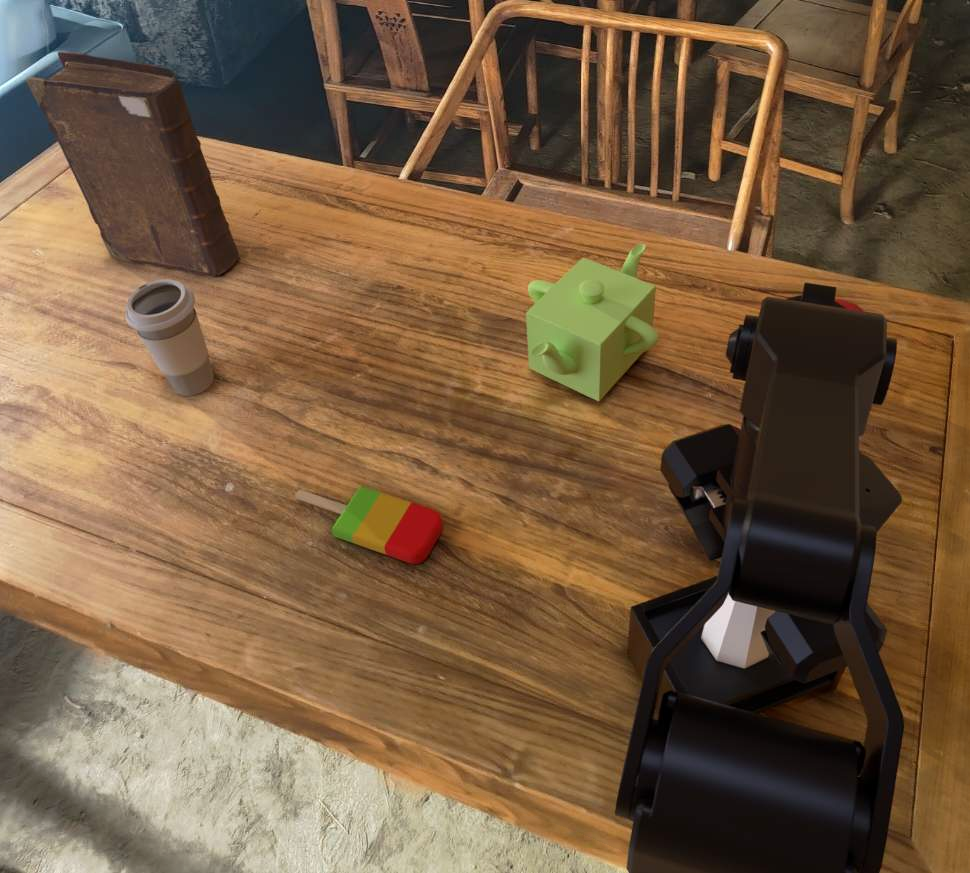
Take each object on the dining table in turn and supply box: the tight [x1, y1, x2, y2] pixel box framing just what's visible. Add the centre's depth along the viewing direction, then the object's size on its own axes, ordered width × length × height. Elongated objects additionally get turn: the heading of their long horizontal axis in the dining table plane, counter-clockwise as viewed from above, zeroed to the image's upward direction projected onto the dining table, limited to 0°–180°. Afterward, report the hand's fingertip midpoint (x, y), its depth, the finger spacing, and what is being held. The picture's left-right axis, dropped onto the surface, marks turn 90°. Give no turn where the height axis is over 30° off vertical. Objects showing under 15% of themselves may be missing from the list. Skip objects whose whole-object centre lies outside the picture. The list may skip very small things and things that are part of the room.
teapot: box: [525, 243, 660, 402], centre depth 96 cm, size 15×13×11 cm
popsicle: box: [294, 485, 444, 565], centre depth 87 cm, size 6×15×2 cm, turn 66°
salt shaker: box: [701, 593, 775, 669], centre depth 67 cm, size 5×5×11 cm
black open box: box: [626, 575, 847, 717], centre depth 73 cm, size 9×14×8 cm, turn 110°
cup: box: [125, 278, 215, 397], centre depth 98 cm, size 7×7×12 cm
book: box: [26, 50, 240, 278], centre depth 108 cm, size 17×7×25 cm, turn 64°
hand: (746, 606), depth 68 cm, fingers open, 9 cm apart
